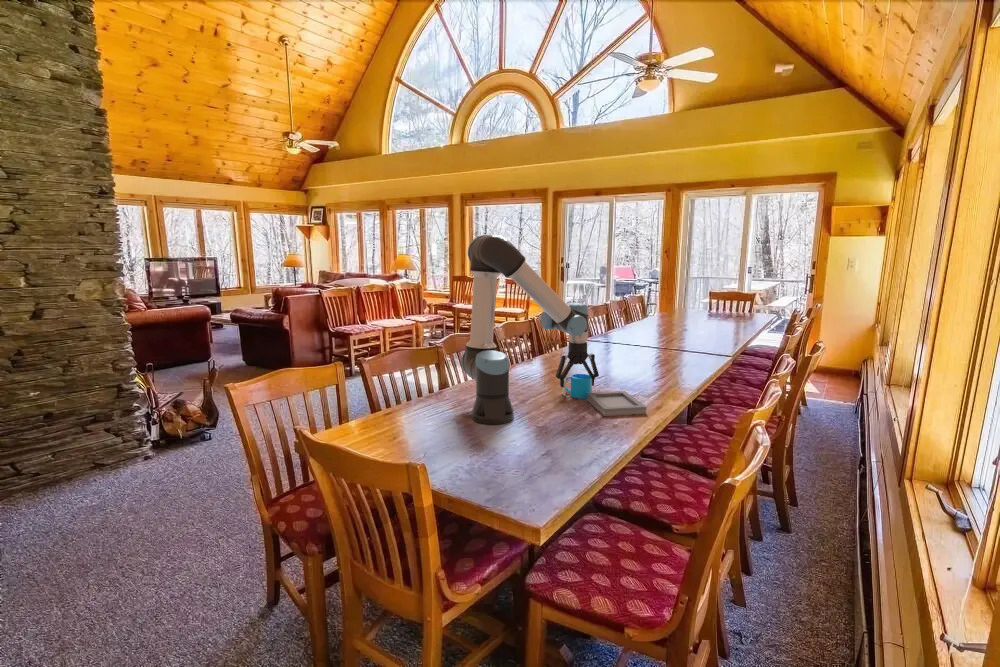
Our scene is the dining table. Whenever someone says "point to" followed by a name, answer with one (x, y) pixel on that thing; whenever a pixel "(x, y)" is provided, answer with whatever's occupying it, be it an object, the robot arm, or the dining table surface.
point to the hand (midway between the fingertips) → (576, 394)
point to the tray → (616, 403)
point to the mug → (579, 385)
